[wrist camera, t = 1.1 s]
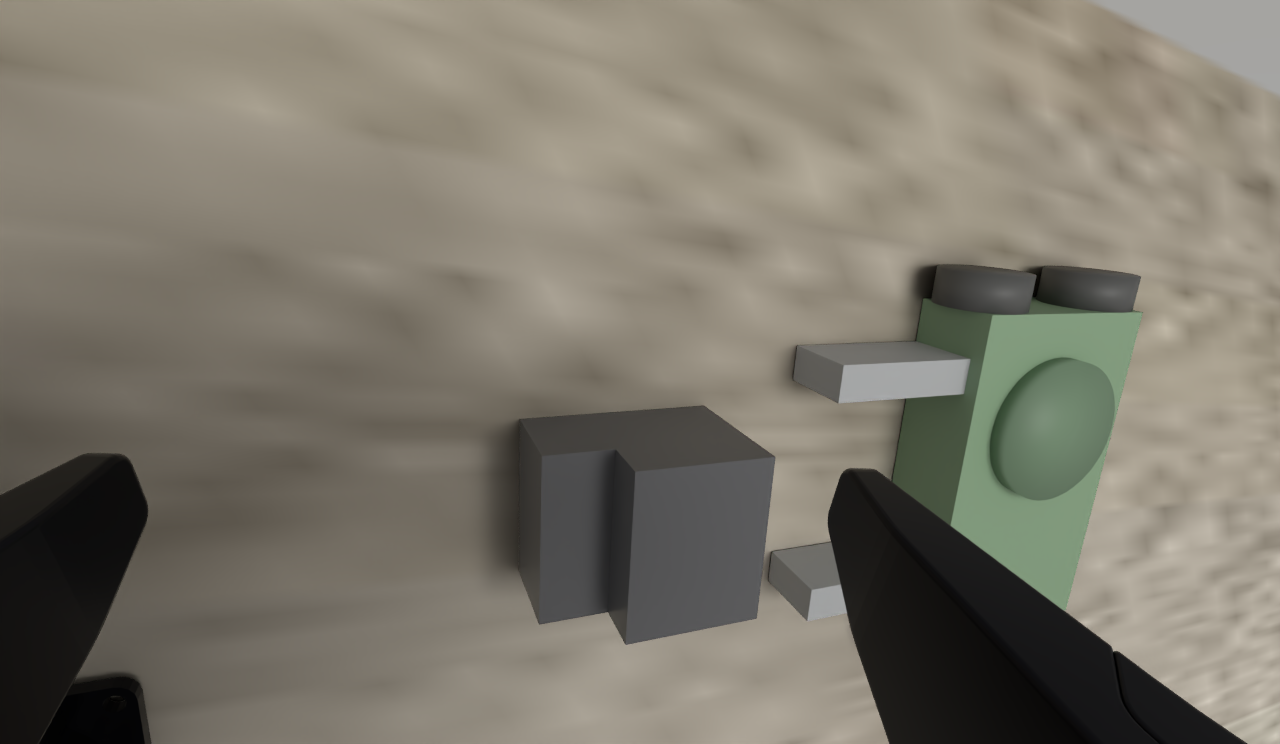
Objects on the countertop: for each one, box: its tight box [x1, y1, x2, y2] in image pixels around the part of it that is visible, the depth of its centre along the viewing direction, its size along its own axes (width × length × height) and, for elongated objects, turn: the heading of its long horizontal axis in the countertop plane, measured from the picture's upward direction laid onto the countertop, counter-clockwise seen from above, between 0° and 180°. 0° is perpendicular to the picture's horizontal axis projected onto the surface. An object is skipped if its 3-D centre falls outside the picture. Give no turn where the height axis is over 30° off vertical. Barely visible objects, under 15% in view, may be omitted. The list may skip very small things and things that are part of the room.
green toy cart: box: [768, 264, 1143, 621], centre depth 25 cm, size 14×12×4 cm
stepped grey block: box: [519, 406, 775, 645], centre depth 20 cm, size 5×6×4 cm
